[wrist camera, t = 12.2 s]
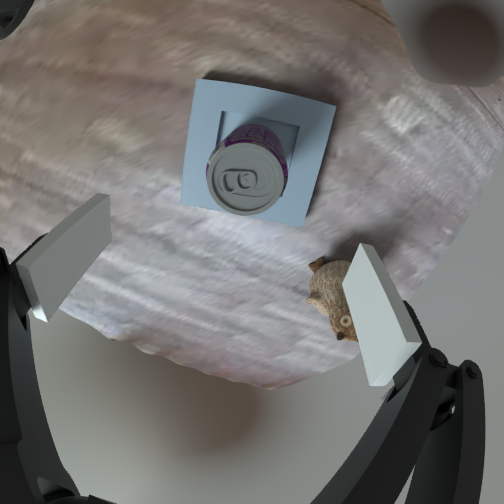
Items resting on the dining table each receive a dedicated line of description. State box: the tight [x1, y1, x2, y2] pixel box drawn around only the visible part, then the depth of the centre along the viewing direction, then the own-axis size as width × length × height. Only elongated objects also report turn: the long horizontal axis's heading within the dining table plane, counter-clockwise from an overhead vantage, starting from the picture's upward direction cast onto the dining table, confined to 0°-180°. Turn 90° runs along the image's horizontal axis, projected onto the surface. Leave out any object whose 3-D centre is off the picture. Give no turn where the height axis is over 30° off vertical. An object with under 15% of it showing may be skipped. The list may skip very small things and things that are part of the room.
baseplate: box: [180, 79, 336, 228], centre depth 32 cm, size 16×16×2 cm
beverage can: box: [206, 124, 288, 216], centre depth 27 cm, size 7×7×12 cm
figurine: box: [306, 258, 359, 343], centre depth 35 cm, size 9×10×15 cm
